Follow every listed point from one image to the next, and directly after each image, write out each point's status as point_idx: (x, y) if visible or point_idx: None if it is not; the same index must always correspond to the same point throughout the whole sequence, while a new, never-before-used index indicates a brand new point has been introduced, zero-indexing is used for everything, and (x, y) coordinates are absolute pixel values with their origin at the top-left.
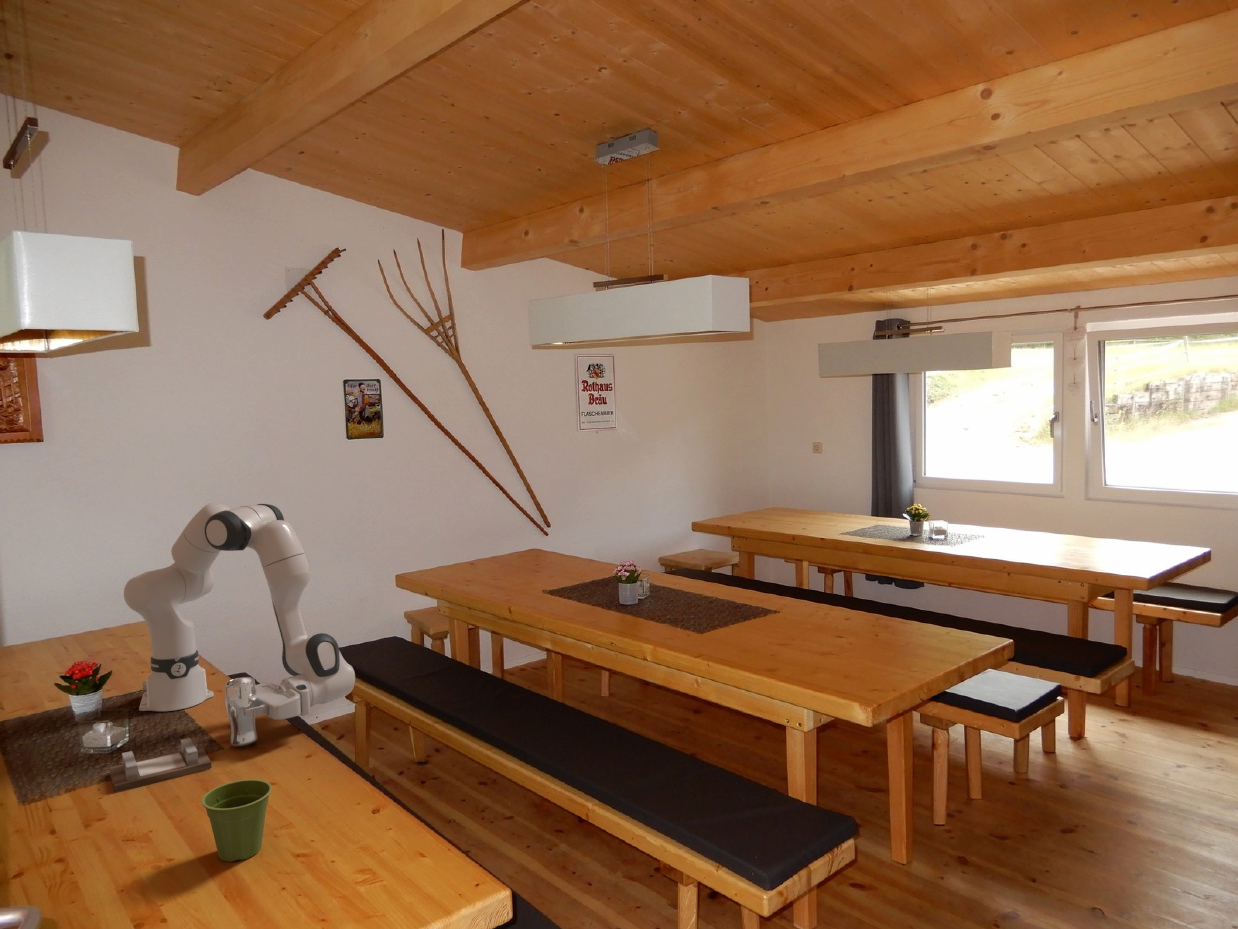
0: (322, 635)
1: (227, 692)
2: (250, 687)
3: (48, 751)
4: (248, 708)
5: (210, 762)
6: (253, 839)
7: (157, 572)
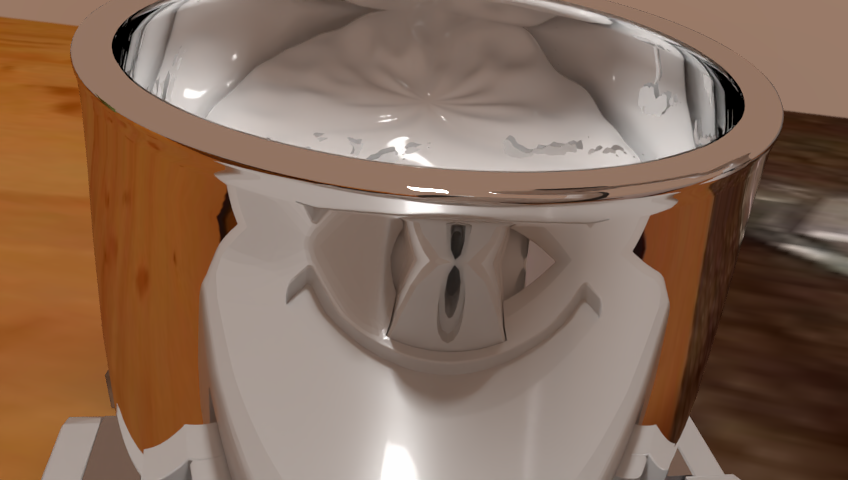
0: None
1: (353, 74)
2: (94, 180)
3: (813, 149)
4: (113, 454)
5: (108, 372)
6: None
7: None
